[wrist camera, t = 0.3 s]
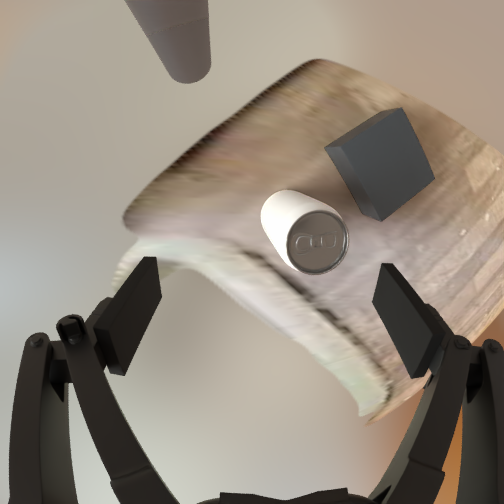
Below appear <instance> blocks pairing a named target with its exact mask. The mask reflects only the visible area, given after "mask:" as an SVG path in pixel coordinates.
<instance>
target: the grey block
mask: <svg viewBox="0 0 504 504" xmlns="http://www.w3.org/2000/svg"><path fill="white" fill-rule="evenodd" d="M325 150H326V151H327V153H328V155H329V156H330V158H331V159H332V161H333V163H334V164H335V166H336V168H337V169H338V171H339V173H340V174H341V176H342V178H343V180H344V181H345V183H346V185H347V187H348V188H349V190H350V192H351V194H352V195H353V197H354V199H355V201H356V203H357V205H358V206H359V208H360V210H361V212H362V214H364V215H367V216H369V217H371V218H374V219H376V220H378V221H380V222H382V221H383V220H384V219H386V218H387V217H388V216H390V215H391V214H392V213H393V212H395V211H396V210H397V209H398V208H400V207H401V206H402V205H404V204H405V203H406V202H407V201H409V200H410V199H411V198H412V197H414V196H415V195H416V194H417V193H418V192H420V191H421V190H422V189H423V188H425V187H426V186H427V185H428V184H430V183H431V182H432V181H433V180H434V179H435V177H434V175H433V172H432V170H431V167H430V165H429V163H428V160H427V158H426V156H425V153H424V151H423V149H422V147H421V145H420V142H419V140H418V138H417V136H416V134H415V132H414V130H413V128H412V126H411V124H410V122H409V120H408V118H407V116H406V114H405V113H404V111H403V109H402V107H401V108H396V109H391V110H386V111H382V112H379V113H378V114H376V115H375V116H373V117H371V118H370V119H368V120H367V121H365V122H363V123H362V124H360V125H359V126H357V127H355V128H354V129H352V130H351V131H349V132H348V133H346V134H344V135H343V136H341V137H340V138H338V139H337V140H335V141H334V142H332V143H331V144H329V145H327V146H326V147H325Z"/></svg>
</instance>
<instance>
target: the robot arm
mask: <svg viewBox="0 0 504 504" xmlns="http://www.w3.org/2000/svg"><path fill="white" fill-rule="evenodd" d="M161 298H162V294H161V288H160V281H159V274H158V267H157V259H156V257H143V259H142V260H141V261H140V263H139V264H138V265H137V266H136V268H135V269H134V270H133V272H132V273H131V274H130V276H129V277H128V278H127V280H126V281H125V282H124V284H123V285H122V286H121V288H120V289H119V290H118V292H117V293H116V294H115V296H114V297H113V298H110V297H107V298H105V299H104V300H102V301H101V302H100V303H99V304H98V305H97V307H96V308H95V310H94V311H93V312H92V314H91V315H90V316H89V318H88V319H87V320H86V322H85V323H84V320H83V318H82V317H81V316H79V315H74V314H72V315H68V316H65V317H63V318H62V319H60V320H59V321H58V323H57V324H56V329H57V331H58V334H59V336H60V338H61V340H60V341H50V339H49V337H48V335H47V334H45V333H35V334H33V335H31V336H30V337H29V338H28V339H27V340H26V342H25V346H24V350H23V355H22V359H21V364H20V368H19V373H18V378H17V384H16V390H15V396H14V403H13V411H12V421H11V431H10V447H9V489H10V498H9V502H8V504H78V500H77V494H76V488H75V482H74V475H73V467H72V459H71V448H70V437H69V414H68V413H69V411H68V384H69V383H73V385H74V388H75V392H76V395H77V398H78V401H79V404H80V407H81V410H82V413H83V416H84V418H85V421H86V424H87V426H88V429H89V432H90V434H91V436H92V439H93V441H94V444H95V446H96V448H97V451H98V453H99V455H100V457H101V460H102V462H103V464H104V466H105V468H106V470H107V472H108V474H109V476H110V479H111V482H110V484H111V487H112V489H113V491H114V493H115V495H116V497H117V498H118V500H119V502H120V504H180V503H179V502H178V501H177V499H176V498H175V497H174V495H173V494H172V493H171V491H170V490H169V488H168V487H167V486H166V484H165V483H164V481H163V480H162V478H161V477H160V475H159V474H158V472H157V471H156V470H155V468H154V466H153V465H152V463H151V462H150V460H149V458H148V457H147V455H146V453H145V452H144V450H143V448H142V447H141V445H140V443H139V442H138V440H137V438H136V436H135V435H134V433H133V431H132V429H131V427H130V425H129V424H128V422H127V420H126V418H125V416H124V414H123V412H122V410H121V408H120V406H119V404H118V402H117V400H116V398H115V396H114V394H113V392H112V389H111V387H110V385H109V383H108V380H107V378H106V376H105V373H104V369H105V367H106V365H107V367H108V369H109V372H110V373H111V374H117V375H122V376H125V374H126V372H127V370H128V367H129V365H130V363H131V361H132V359H133V356H134V354H135V352H136V350H137V348H138V346H139V344H140V341H141V339H142V337H143V335H144V333H145V331H146V329H147V327H148V325H149V323H150V321H151V319H152V316H153V314H154V312H155V310H156V308H157V306H158V304H159V302H160V300H161ZM372 303H373V305H374V307H375V309H376V310H377V312H378V314H379V316H380V318H381V320H382V322H383V323H384V325H385V327H386V329H387V331H388V333H389V335H390V337H391V339H392V341H393V343H394V345H395V347H396V349H397V351H398V353H399V355H400V357H401V359H402V361H403V363H404V365H405V367H406V369H407V371H408V373H409V375H410V377H411V379H413V378H419V377H424V375H425V374H426V372H427V370H428V368H429V369H430V371H431V372H432V374H431V375H430V377H429V379H428V381H427V382H426V384H425V386H424V387H423V389H425V390H424V393H423V395H422V398H421V400H420V403H419V405H418V408H417V410H416V412H415V415H414V417H413V419H412V422H411V424H410V426H409V428H408V430H407V433H406V434H405V437H404V439H403V440H402V442H401V444H400V446H399V449H398V450H397V452H396V454H395V456H394V458H393V460H392V462H391V463H390V465H389V467H388V469H387V471H386V472H385V474H384V476H383V477H382V479H381V481H380V482H379V484H378V485H377V487H376V488H375V489H374V491H373V492H372V493H371V494H370V495H369V497H368V498H366V497H363V496H360V495H355V494H348V490H347V488H341V489H333V490H325V491H317V492H314V493H311V494H308V495H304V496H301V497H297V498H294V499H290V500H279V499H273V498H268V497H263V496H259V495H255V494H240V493H224V492H220V498H215V499H210V500H206V501H203V502H200V503H197V504H433V503H434V501H435V499H436V497H437V494H438V492H439V489H440V487H441V485H442V482H443V480H444V476H445V472H443V471H442V467H443V464H444V461H445V458H446V456H447V453H448V450H449V447H450V444H451V441H452V438H453V434H454V431H455V427H456V424H457V420H458V417H459V413H460V409H461V405H462V412H463V429H462V431H463V432H462V454H461V467H460V477H459V485H458V492H457V499H456V504H504V350H503V347H502V346H501V344H500V343H499V342H497V341H496V340H493V339H487V340H485V341H484V343H483V345H482V346H481V347H477V346H472V345H471V343H470V341H469V340H468V339H466V338H465V337H463V336H460V335H454V333H453V332H452V331H451V329H450V328H449V326H448V325H447V324H446V322H445V321H443V318H442V317H441V316H440V314H439V313H438V312H437V311H436V309H435V308H433V307H432V306H431V305H429V304H425V303H424V302H423V301H422V299H421V298H420V297H419V296H418V294H417V293H416V292H415V290H414V289H413V288H412V287H411V285H410V284H409V283H408V282H407V280H406V279H405V278H404V277H403V275H402V274H401V273H400V272H399V271H398V269H397V268H396V267H395V266H394V265H393V263H382V264H381V268H380V272H379V277H378V281H377V285H376V289H375V293H374V297H373V300H372Z"/></svg>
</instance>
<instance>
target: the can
mask: <svg viewBox="0 0 504 504" xmlns="http://www.w3.org/2000/svg"><path fill="white" fill-rule="evenodd" d="M261 223H262V226H263V229H264V231H265V232H266V234H267V236H268V237H269V239H270V240H271V242H272V244H273V245H274V247H275V248H276V250H277V251H278V253H279V254H280V256H281V257H282V259H283V260H284V261H285V262H286V263H287V264H288V265H289V266H290V267H292V268H293V269H295V270H297V271H300V272H303V273H305V274H309V275H320V274H324V273H327V272H329V271H331V270H333V269H334V268H335V267H337V266H338V265H339V264H340V263H341V261H342V260H343V259H344V257H345V255H346V253H347V250H348V246H349V233H348V229H347V227H346V225H345V223H344V222H343V220H342V218H341V216H340V215H339V214H338V212H337V211H336V210H334V209H333V208H332V207H330V206H329V205H327V204H325V203H323V202H321V201H318V200H316V199H314V198H312V197H309V196H307V195H305V194H302V193H300V192H297V191H293V190H282V191H279V192H276V193H274V194H273V195H271V196H270V197H269V198H268V199H267V200H266V202H265V203H264V205H263V207H262V210H261Z"/></svg>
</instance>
